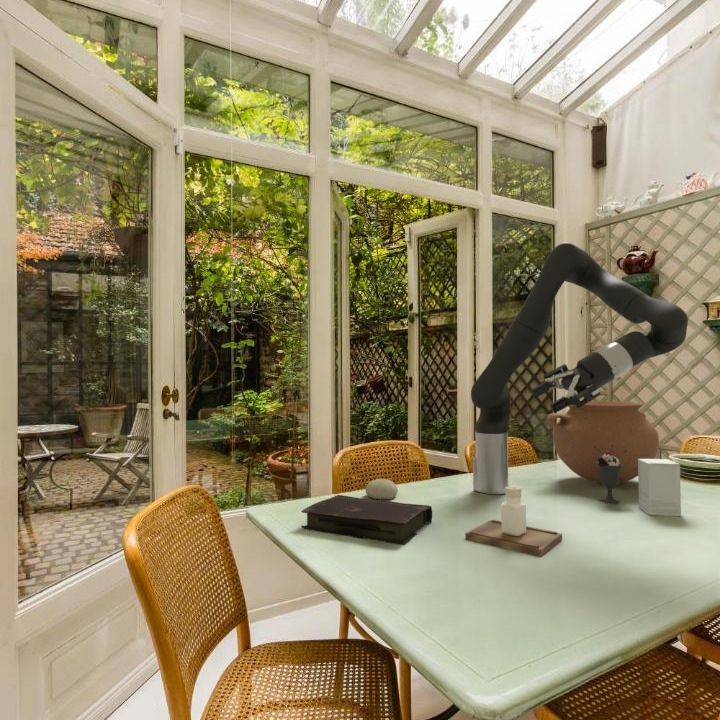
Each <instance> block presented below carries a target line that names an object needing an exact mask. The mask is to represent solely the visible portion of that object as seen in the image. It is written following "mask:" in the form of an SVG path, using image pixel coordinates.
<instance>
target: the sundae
mask: <svg viewBox="0 0 720 720" xmlns="http://www.w3.org/2000/svg"><path fill="white" fill-rule="evenodd" d="M613 446H614V445H611V448H613ZM610 450H611V449H610ZM610 450H609V451H610ZM609 451H606V453H605V454H603V455H602V457H600V458H599V459H597V461H598V462H597V463H596V464H597V465H598V466H599V471H600V478H601V482H602V485H603V486H604V487H605V488H606V489H607V490H606V491H607V495H606V497H605V498H600V499H599V502H601V503H603V502H604V504H608V503H610V504H609V505H617V504H618V503H619V504H620V503H621V501H620V500H618V499H615V497H614V496H613V490H614V489H615V488H616V487H617V486H618V485H619V483H618V481H619V474H620V468H621V467H622V466H623V464H622V463H619V460H618V459H617V458H616V457H615V456H616V455H615V454H614V451H613V453H610V452H609Z"/></svg>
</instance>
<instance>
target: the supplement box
mask: <svg viewBox="0 0 720 720" xmlns="http://www.w3.org/2000/svg"><path fill="white" fill-rule="evenodd" d="M680 465H681V464H680V463H678V462H675V461H672V460H671V459H668V458H664V459H663V458H655V459H638V476H637V478H638V480H637V481H638V484H637V485H638V508H639V509H641V510H642V511H644V512H645V513H646V514H647V515H651V516H663V517H664V516H665V517H682V499H681V498H682V497H681V496H682V492H681V466H680Z"/></svg>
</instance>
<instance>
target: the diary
mask: <svg viewBox="0 0 720 720" xmlns="http://www.w3.org/2000/svg"><path fill="white" fill-rule="evenodd" d="M432 509H433V507H432V506H431V505H428V504H427V505H426V504H417V503H416V504H415V503H406V502H405V503H403V502H398V501H397V502H396V501H391V500H386V499H378V500H377V499H374V498H364V497H363V498H362V497H355V496H350V495H349V496H348V495H343V494H337V495H334V496H333V497H330V498H327V499H323V500H320V501H318V502H315V503H313V504H311V505H309V506H307V507H306V508H304V509H302V510H301V513H304V514H306V524H305V525H300V526H301V528H303V529H304V530H307V531H312V532H317V533H323V534H331V535H337V536H343V537H344V536H347V537H351V538H357V539H361V540H362V539H363V540H372V541H373V540H374V541H379V542H382V543H388V544H394V545H398V546H399V545H400V546H405V545H407V544H408V543H409V542H410V541H411V540H412V539H413V538H414V537H416V536H417V535H418V533H417V531H419V530H420V529H421V528H422V527H424V525H427V526H428V524H426V523H432V522H433V510H432Z"/></svg>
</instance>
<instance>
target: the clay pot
mask: <svg viewBox="0 0 720 720" xmlns="http://www.w3.org/2000/svg"><path fill="white" fill-rule="evenodd" d="M642 406H643V403H642V402H635V401H634V402H633V401H622V400H621V401H619V400H617V401H616V400H591V401H590V402H588V403H587V404H585V405H583V406H582V407H580V408H577V407H576V406H575V405H573V406H570V405H569V406H568V407H569V409H568V411H566V412H565V413H564V414H563V413H558V412H556V413H554V412H553V413H549V414H548V415H547V417H546V421H547V423H548V424H549V425H550V426H551V428H552V441H553V445H554V446H553V447H554V449H555V452H556V454H557V456H558V457H559V458H560V460H561V461H562V462H563V464H564V465H566V467H567V468H569V470H571V472H573V473H575V474H576V475H577V476H579V477H581V478H583V479H585V480H588V481H591V482H594V483H597V484H602V482H601V478H600V471H599V466H598V465H597V464H596V463H597V462H598V461H597V459H599V458H600V457H602V455H603V454H605V453H606V451H609V450H610V449H611V450H610V451H609V452H610V453H613V451H614V454H615V455H616V456H615V457H616V458H617V459H618V460H619V463H622V464H623V466H622V467H621V468H620V474H619V481H618V484H620V483H621V484H622V483H625V482H628V481H631V480H634V479H635V478H638V459H657V455H658V451H659V444H660V442H659V432H658V431H657V428H656V427H655V426H654V425H653V423H651V422H650V421H649V420H648V419H647V418H646V417H647V416H646V415H645V413H644V412H642V411H640V409H641V407H642ZM557 419H558V421H557V422H556V420H557ZM611 445H614V446H613V448H611ZM602 485H603V484H602Z"/></svg>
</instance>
